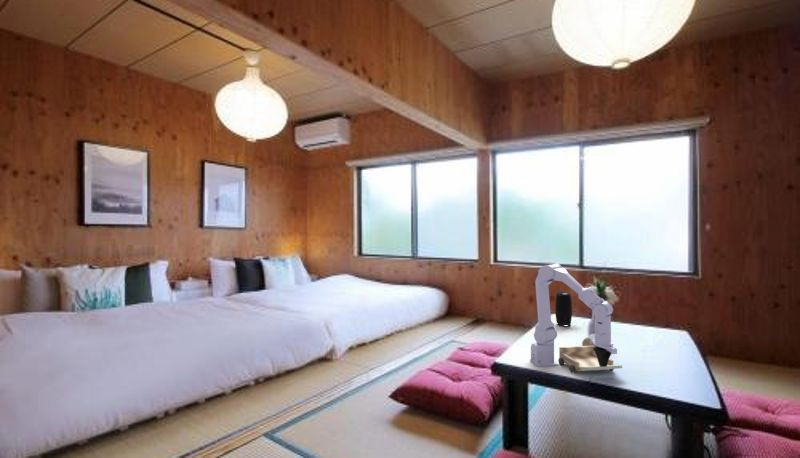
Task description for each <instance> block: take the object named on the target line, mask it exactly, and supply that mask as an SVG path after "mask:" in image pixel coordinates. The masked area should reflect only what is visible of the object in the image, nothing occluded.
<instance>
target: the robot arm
mask: <svg viewBox="0 0 800 458" xmlns="http://www.w3.org/2000/svg"><path fill="white" fill-rule="evenodd" d="M537 272H538V274H537V275H536V278H535V281H534V284H535V294H536V295H535V297H536V308H537V309H536V310H537V312H536V313H537V322H536V324H535V327H534V329H535V330H534V333H533V338H534V340H535V342H533V343H532V344H531V345H530V359H529V361H530V362H532V363H533V364H534V365H536V366H537V367H549V366H559V363H558V362H557V361H555V340H556V339H557V337H558V333H557V332H558V331H557V330H556V328H555V323H554V322H553V321H552V315H551V314H552V313H551V304H550V291H549V290H550V289H549V286H550V285H551V284H552V283H553V281H557V282H563V284H565V285H567V286H568V287H569V289H571V290H573V291H574V292H575V293H576V294H577V295H578V299H579V300H580V301H581V302H583V304H585V305H586V306H587V307H588V308H589V309H591V311H592V314H593V316H594V334H595V338H590V343H591V344H594V345H595V346H597V347H594V348H593V350H594V351H595V353H596V355H597V358H598V362H599V366H601V367H604V366H607V363H608V360H609V359H611V358H610V357H611V356H612V355H617V354H618V348H616V347H615V346H614V343H613V342H612V320H611V319H612V314H613V312H614V308H613V305H612V304H611V302H609V301H607V300H605V299H604V298H603V297H600V296H599V295H598V294H596V293H595V291H594V289H593V288H591V289H590V288H589V287H584V286H582V284H581V283H580V282H578V281H577V280H576V279H575V278H574V277H573V276H572V275H571V274H570V273H569V272H568V270H567V269H566V268H564V267H563V266H562V265H561V264H559V263H553V264H548V265H547V264H544V265H543V266H542V267H540V268H539V269H538V271H537Z"/></svg>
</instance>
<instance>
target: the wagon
mask: <svg viewBox="0 0 800 458" xmlns="http://www.w3.org/2000/svg"><path fill="white" fill-rule="evenodd" d="M593 348H594V346H582V345H581V346H579V345H577V346H575V345H574V346H560V347H559V351H558V352H559V354H558V355H559V356H558V357H559V358H558V360H557V361H558V365H559V366H564V365H567V366H568V367H569V372H570V373H571V374H575V373H576V372H586V371H587V372H589V371H591V370H580V367H588V366H599V362H598V358H597V355H596V353H595V351H594V350H593ZM607 365H614V360H612V359H611V358H609V360H608V363H607ZM602 370H606V371H607V370H608V371H611V372H612V371H615V369H600V370H599V371H602Z"/></svg>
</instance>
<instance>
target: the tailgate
mask: <svg viewBox="0 0 800 458" xmlns="http://www.w3.org/2000/svg"><path fill="white" fill-rule="evenodd" d="M600 369H607V370H608V369H614V370H615V369H617V370H618V369H623V365H620V364H619V365H617V364H613V365H607V366H604V367H601V366H588V367H580V370H590V371H601V370H600Z"/></svg>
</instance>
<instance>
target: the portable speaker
mask: <svg viewBox="0 0 800 458" xmlns="http://www.w3.org/2000/svg"><path fill="white" fill-rule="evenodd" d="M571 294H572V293H571V292H566V291H558V292H556V295H555V309H554V310H555V320H556V324H557V323H558V324H557V325H560V326H561V325H568V326H570V325H572V324H571V323H572V318H573V302H572V297H571ZM569 324H570V325H569Z"/></svg>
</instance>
